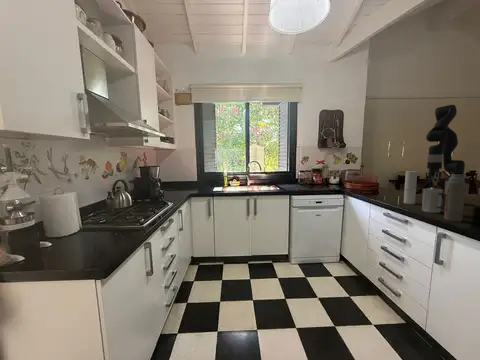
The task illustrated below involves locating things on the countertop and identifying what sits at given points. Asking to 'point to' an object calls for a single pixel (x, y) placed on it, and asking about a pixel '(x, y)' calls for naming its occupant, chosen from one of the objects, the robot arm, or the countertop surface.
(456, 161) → the robot arm
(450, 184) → the thermos bottle
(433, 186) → the plunger
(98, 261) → the countertop surface
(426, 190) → the press body
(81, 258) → the countertop surface
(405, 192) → the cylindrical container
